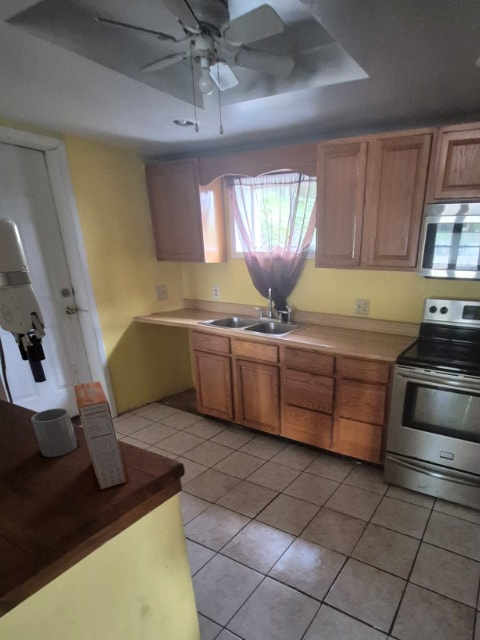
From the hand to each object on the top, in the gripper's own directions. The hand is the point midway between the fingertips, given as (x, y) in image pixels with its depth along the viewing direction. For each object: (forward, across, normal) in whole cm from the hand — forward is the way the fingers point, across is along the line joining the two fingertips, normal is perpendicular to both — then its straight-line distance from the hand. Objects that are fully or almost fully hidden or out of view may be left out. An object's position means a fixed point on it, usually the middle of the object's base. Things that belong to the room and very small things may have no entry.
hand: (34, 359), depth 89 cm
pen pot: (+25, 0, 0) cm, 25 cm away
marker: (+6, 0, 0) cm, 6 cm away
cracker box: (+25, +21, -2) cm, 33 cm away
